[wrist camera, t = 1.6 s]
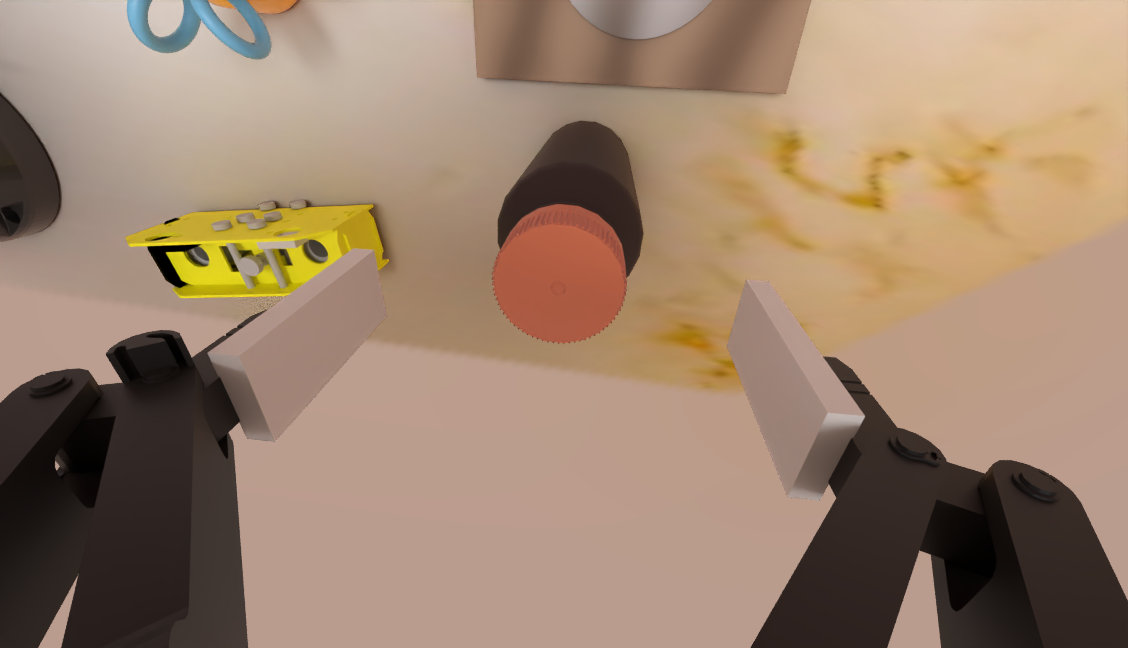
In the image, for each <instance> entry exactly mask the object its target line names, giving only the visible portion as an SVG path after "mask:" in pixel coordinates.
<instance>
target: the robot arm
mask: <svg viewBox="0 0 1128 648" xmlns="http://www.w3.org/2000/svg"><path fill="white" fill-rule="evenodd" d="M58 206H59V191H58V185H57V181H56V177H55V174H54V171H53V169H52V166H51V164H50V162H49V159H48V157H47V155H46V153H45V152H44V150H43V148H42V146H41V145H40V143H39V142H38V140H37V138H36V137H35V135H34V134H33V133H32V131H31V130H30V128H29V127H28V126H27V125H26V123H25V122H24V121H23V119H22V118H21V117H20V116H19V115H18V114H17V112H16V111H15V110H14V109H13V108H12V107H11V106H10V105H9V104H8V103H7V102H6V101H5V100H4V99H3V98H2V97H1V96H0V242H3V241H9V240H13V239H16V238H20V237H23V236H26V235H30V234H33V233H36V232H39V231H41V230H43V229H45V228H46V227H48V226H49V225H50V224H51V223H52V221H53V220H54V218H55V216H56V214H57V211H58ZM386 317H387V314H386V309H385V304H384V298H383V293H382V288H381V283H380V278H379V273H378V267H377V262H376V257H375V252H374V250H369V249H357V248H353V249H352V250H350V251H349V252H348V253H346V254H345V255H343V256H342V257H341V258H339V259H338V260H336V261H335V262H334V263H332V264H331V265H329V266H328V267H327V268H325V269H324V270H322V271H321V272H320V273H318V274H317V275H316V276H314V277H313V278H311V279H310V280H309V281H307V282H306V283H304V284H303V285H302V286H300V287H299V288H297V289H296V290H295V291H293V292H292V293H290V294H289V295H288V296H286V297H285V298H283V299H282V300H281V301H279V302H278V303H276V304H275V305H274V306H272V307H271V308H269V309H267V310H265V311H262V312H260V313H258V314H255V315H253V316H251V317H249V318H248V319H246V320H245V321H244V322H242V323H241V324H239V325H238V326H237V328H234V329H232V330H231V331H230V332H228V333H226V336H222V337H221V338H219V339H218V340H216V341H215V342H214V343H212V344H211V345H209V346H208V347H207V348H205V349H204V350H202V351H201V352H199V353H198V354H196V355H195V356H194V357H192V358H191V356H190V353H189V351H188V350H187V347H186V345H185V344H184V341H183V339H182V337H181V336H180V333H178V332H175V331H170V330H159V331H152V332H147V333H143V334H140V335H136V336H132V337H130V338H128V339H125V340H123V341H121V342H119V343H118V344H116V345H114V346H113V347H111V348H110V349H109V350H108V352H107V353H106V356H107V357H108V359H109V361H110V362H111V364H112V366H113V367H114V369H115V371H116V372H117V374H118V375H119V377H120V379H121V380H122V382H123V383H115V384H105V385H98V384H97V382H96V381H95V379H94V378H93V376H92V375H91V373H90V372H89V371H88V370H84V369H66V370H61V371H53V372H49V373H46V375H40V376H37V377H35V378H34V379H33V380H31V381H29V382H26V383H25V384H23V385H21V386H19V387H18V388H17V389H15V390H14V391H12V392H11V393H10V394H9V395H8V396H7V397H6V398H5V399H4V400H3V401H2V402H1V403H0V648H38V647H39V645H40V643H41V641H42V640H43V638H44V636H45V634H46V632H47V630H48V629H49V627H50V625H51V623H52V621H53V620H54V617H55V616H56V614H57V612H58V610H59V609H60V607H61V605H62V603H63V601H64V600H65V598H66V596H67V594H68V592H69V590H70V589H71V587H72V585H73V583H74V581H75V579H76V577H77V576H78V579H77V583H76V587H75V592H74V596H73V600H72V605H71V609H70V613H69V617H68V621H67V626H66V630H65V634H64V638H63V643H62V647H61V648H248V641H247V626H246V613H245V598H244V585H243V571H242V558H241V545H240V544H241V543H240V529H239V516H238V501H237V489H236V488H237V487H236V474H235V460H234V446H233V441H232V439H231V437H230V435H229V433H228V432H229V431H230V430H231V429H233V427H235V425H237V424H238V423H239V422H240V424H241V427H242V429H243V431H244V433H245V435H246V437H247V439H254V440H263V441H272V442H275V441H276V440H277V438H279V437H280V435H281V434H282V433H283V432H284V431H285V430H286V429H287V428H288V426H289V425H290V424H291V423H292V422H293V421H294V420H295V419H296V418H297V416H298V415H299V414H300V413H301V412H302V411H303V409H305V407H306V406H307V405H308V404H309V403H310V402H311V401H312V400H313V398H314V397H315V396H316V395H317V394H318V393H319V392H320V391H321V389H322V388H323V387H324V386H325V385H326V384H327V383H328V382H329V380H330V379H331V378H332V377H333V376H334V375H335V374H336V373H337V371H338V370H339V369H340V368H341V367H342V366H343V365H344V364H345V363H346V361H347V360H348V359H349V358H350V357H351V356H352V355H353V353H354V352H355V351H356V350H357V349H358V348H359V347H360V346H361V345H362V343H363V342H364V341H365V340H366V339H367V338H368V337H369V336H370V334H371V333H372V332H373V331H374V330H375V329H376V328H377V327H378V326H379V324H380V323H381V322H382V321H383V320H384V319H385V318H386ZM727 348H728V350H729V352H730V355H731V357H732V360H733V362H734V365H735V367H736V370H737V372H738V375H739V377H740V380H741V382H742V385H743V387H744V390H745V392H746V395H747V397H748V400H749V402H750V405H751V407H752V410H753V412H754V415H755V417H756V420H757V422H758V425H759V427H760V430H761V432H762V435H763V437H764V440H765V442H766V445H767V447H768V450H769V452H770V455H771V457H772V460H773V462H774V465H775V467H776V470H777V472H778V475H779V477H780V480H781V482H782V485H783V487H784V490H785V492H786V495H787V497H791V498H801V499H810V500H819V501H820V499H821V497H822V496H823V494H824V492H825V490H826V488H827V486H828V484H829V485H830V487H831V489H832V490H833V492H834V494H835V496H836V500H835V502H834V503H833V505H832V507H831V509H830V510H829V512H828V514H827V515H826V517H825V519H824V521H823V522H822V524H821V526H820V528H819V530H818V531H817V533H816V535H815V536H814V538H813V540H812V542H811V543H810V545H809V547H808V549H807V550H806V552H805V554H804V556H803V557H802V559H801V561H800V563H799V564H798V566H797V568H796V570H795V571H794V573H793V575H792V576H791V578H790V580H789V582H788V584H787V585H786V587H785V589H784V590H783V592H782V594H781V596H780V597H779V599H778V601H777V603H776V604H775V606H774V608H773V609H772V611H771V613H770V615H769V617H768V618H767V620H766V622H765V623H764V625H763V627H762V629H761V630H760V632H759V634H758V636H757V637H756V639H755V641H754V643H753V644H752V646H751V648H887V647H888V644H889V640H890V638H891V635H892V632H893V628H894V625H895V623H896V619H897V616H898V613H899V610H900V607H901V604H902V601H903V598H904V595H905V592H906V589H907V586H908V583H909V580H910V577H911V574H912V571H913V568H914V565H915V562H916V559H917V556H918V553H919V550H920V551H923V552H925V553H928V554H931V560H932V569H933V577H934V587H935V595H936V605H937V614H938V622H939V631H940V640H941V648H1128V600H1127V598H1126V596H1125V594H1124V592H1123V590H1122V588H1121V585H1120V583H1119V581H1118V579H1117V577H1116V575H1115V573H1114V571H1113V569H1112V567H1111V565H1110V562H1109V560H1108V558H1107V556H1106V554H1105V552H1104V550H1103V548H1102V546H1101V544H1100V541H1099V539H1098V537H1097V535H1096V533H1095V531H1094V529H1093V527H1092V525H1091V523H1090V521H1089V518H1088V517H1087V514H1086V512H1085V510H1084V508H1083V506H1082V504H1081V502H1080V501H1079V499H1078V498H1077V497H1076V495H1075V494H1074V493H1073V492H1072V491H1071V490H1070V489H1069V488H1068V487H1066V486H1065V485H1064V484H1063V483H1062V482H1060V481H1059V480H1058V479H1056V478H1055V477H1053V476H1052V475H1049V474H1048V473H1046V472H1044V471H1042V470H1040V469H1037V468H1034V467H1032V466H1030V465H1027V464H1024V463H1020V462H1016V461H1012V460H999V461H998V462H996V463H994V464H993V465H992V466H991V467H990V468H989V470H988V471H987V472H986V473H985V474H984V473H981V472H978V471H975V470H971V469H968V468H965V467H961V466H958V465H955V464H952V463H948V462H946V458H945V457H944V455H943V454H942V453H941V451H940V450H939V449H938V448H937V447H935V446H934V445H933V444H932V443H931V442H929V441H928V440H926V439H925V438H923V437H921V436H919V435H917V434H916V433H913V432H910V431H907V430H905V429H901V428H897V427H896V425H895V424H894V423H893V421H892V420H891V419H890V418H889V416H888V415H887V414H886V412H885V411H884V410H883V409H882V407H881V406H880V405H879V404H878V402H877V401H876V400H875V398H874V397H873V396H872V395H870V392H869V391H868V389H867V388H866V387H865V385H863V384H862V382H861V380H860V379H859V378H858V377H857V375H856V374H855V373H854V371H853V370H852V369H851V368H849V367H848V366H847V365H845V364H844V363H842V362H841V361H840V360H838V359H837V358H834V357H823V356H822V355H821V353H820V352H819V351H818V349H817V348H816V346H815V345H814V344H813V342H812V341H811V339H810V338H809V337H808V335H807V334H806V332H805V331H804V330H803V328H802V327H801V325H800V324H799V323H798V321H797V320H796V318H795V317H794V316H793V314H792V313H791V311H790V310H789V308H788V307H787V306H786V304H785V303H784V301H783V300H782V299H781V297H780V296H779V294H778V293H777V292H776V290H775V289H774V287H773V286H772V285H771V283H770V282H769V281H761V280H748V279H746V281H745V285H744V288H743V292H742V295H741V299H740V302H739V306H738V309H737V313H736V316H735V320H734V323H733V327H732V330H731V334H730V337H729V341H728V344H727ZM55 461H56V462H57V463H58V464H59V466H60V467H59V468H58V470H57V471H56V469H55ZM78 574H79V575H78Z"/></svg>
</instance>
